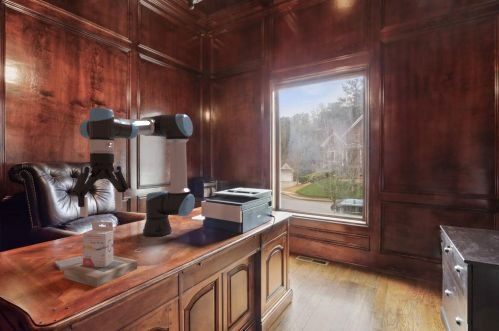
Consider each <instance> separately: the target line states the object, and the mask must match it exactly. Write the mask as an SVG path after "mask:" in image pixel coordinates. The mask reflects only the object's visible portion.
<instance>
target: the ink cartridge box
mask: <svg viewBox="0 0 499 331" xmlns="http://www.w3.org/2000/svg"><path fill="white" fill-rule="evenodd" d="M101 225H104V226H101ZM113 225H114V224H113V222H112V221H91V229H90V230H87V231H85V232H83V233H82V255H83V266H94V267H106V266H108V265H109V264H111V263H112V262H113V256H114V226H113Z"/></svg>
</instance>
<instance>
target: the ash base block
mask: <svg viewBox="0 0 499 331" xmlns="http://www.w3.org/2000/svg"><path fill="white" fill-rule="evenodd" d="M137 269H138V260H136V259H132V258H128V257H127V258H126V257H121V256H116V255H113V262H112V263H111V264H109V265H108V266H106V267H94V266H83V263H81V264H78V265H76V266H73V267H70V268H67V269H63V271H64V272H63V273H64V274H63V277H64V279H65V280H68V281H69V280H70V281H72V282H77V283H81V284H84V285H87V286H91V287H95V288H99V287H101V286H103V285H105V284H108V283H109V282H111V281H114V280H117V279H118V278H120V277H122V276H124V275H126V274H129V273H131V272H133V271H135V270H137Z"/></svg>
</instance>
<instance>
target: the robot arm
mask: <svg viewBox="0 0 499 331" xmlns="http://www.w3.org/2000/svg"><path fill="white" fill-rule="evenodd" d="M88 116H89V117H88V119H87V120H84V121H82V122H81V123H80V124H79V127H78V129H79V133H80V135H81V137H82V138H84V139H87V140H89V152H91V153H90V154H89V164H90V167H89V166H81V167H80V173H79V176H78V177H77V180H76V182H75V184H74V187H73V188H72V191H71V192H70V194H71V196H74V197H77V207H78V208H79V217H82V218H87V217H88V216H89V206H88V205H89V201H88V200H89V198H88V196H86V195H87V194H88V193H89V191H90V190H91V189H92V188H93V186H94V184H96V182H97V181H98V180H108V181H109V183H110V184H111V185H112V186H113V187H114V188H115V190H116V192H115V210H117V211H118V210H119V211H121V210H122V211H123V201H124V197H125V196H124V193H125V192H126V191H127V190H129V186H128V183H127V182H126V180H125V177H124V174H123V173H122V166H121V165H114V164H115V154H114V151H115V139H125V140H129V139H130V140H132V139H134V138H136V137H137V136H140V135H143V136H145V137H161V138H163V137H165V140H166V142H167V143H168V145H169V150H168V151H169V172H170V189H169V190H161V191H153V192H149V193H147V194H146V199H145V207H146V209H145V212H146V213H145V214H146V216H145V223H144V226H143V229H142V235H143V236H144V237H148V238H151V237H153V238H154V237H155V238H156V237H163V236H168V235H170V234H172V233H171V232H173V229H172V226H171V223H170V218H169V216H173V217H175V216H177V217H187V216H189V215H191V214H192V212H193V210H194V208H195V205H196V199H195V195H194V194H192V193H191V189H189V187H188V168H187V167H188V166H187V164H188V162H187V143H188V141H189V140H190V137H191V136H192V135H193V131H194V127H193V122H192V120H191V118H190V116H188V115H187V114H185V113H174V114H173V113H172V114H159V115H153V116H144V117H142V118H139V119H135V118H134V119H132V118H131V119H129V118H128V119H126V118H122V117H117V116H115V113H114V111H113V110H112V109H111V108H106V107H92V108H90V109H89V115H88ZM113 172H114V173H113ZM90 173H91V174H90ZM89 174H90V175H89ZM169 233H170V234H169ZM167 234H168V235H167Z"/></svg>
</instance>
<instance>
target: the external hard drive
mask: <svg viewBox="0 0 499 331" xmlns="http://www.w3.org/2000/svg"><path fill="white" fill-rule="evenodd" d="M53 263H54V266H55V267H56V268H58V270H60V271H64V269H67V268H70V267H73V266H76V265H78V264H81V263H83V254H82V255H78V256H74V257H70V258H65V259H60V260H56V261H54V262H53Z"/></svg>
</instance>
